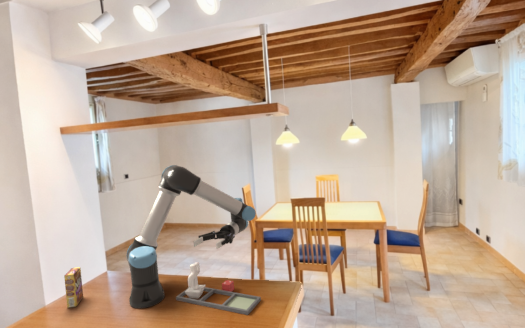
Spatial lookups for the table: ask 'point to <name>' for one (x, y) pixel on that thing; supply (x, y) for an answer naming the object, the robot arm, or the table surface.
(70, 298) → the candy box
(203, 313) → the table surface
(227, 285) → the red die
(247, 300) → the frame
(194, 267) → the figurine
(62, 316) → the table surface
